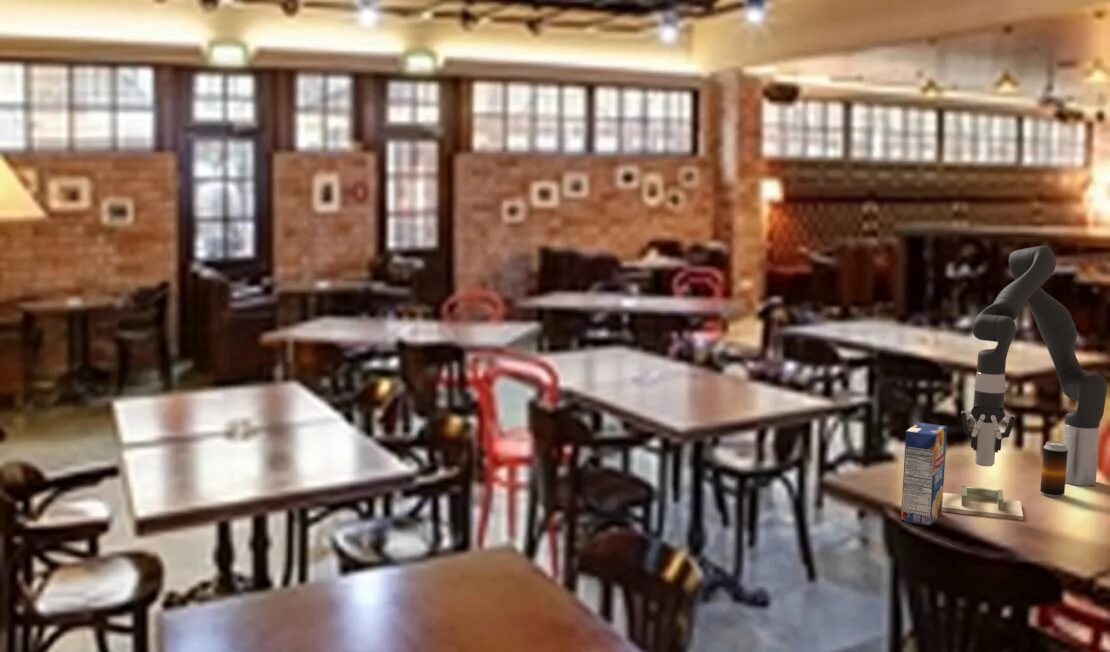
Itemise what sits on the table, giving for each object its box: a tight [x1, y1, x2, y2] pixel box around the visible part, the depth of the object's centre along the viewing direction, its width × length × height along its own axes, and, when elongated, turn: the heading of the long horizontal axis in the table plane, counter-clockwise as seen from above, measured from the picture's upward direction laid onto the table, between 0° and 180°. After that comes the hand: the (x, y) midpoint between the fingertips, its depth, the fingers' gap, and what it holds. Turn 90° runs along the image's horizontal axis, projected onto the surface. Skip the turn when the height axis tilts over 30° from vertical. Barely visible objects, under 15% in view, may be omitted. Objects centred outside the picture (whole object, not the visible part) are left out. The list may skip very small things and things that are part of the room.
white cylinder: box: [974, 422, 997, 467], centre depth 286 cm, size 5×5×12 cm
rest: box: [942, 485, 1024, 521], centre depth 288 cm, size 20×14×4 cm
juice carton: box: [900, 422, 948, 526], centre depth 279 cm, size 12×8×24 cm, turn 146°
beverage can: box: [1040, 440, 1068, 498], centre depth 300 cm, size 6×6×15 cm
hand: (985, 450), depth 286 cm, fingers closed on white cylinder, 5 cm apart
